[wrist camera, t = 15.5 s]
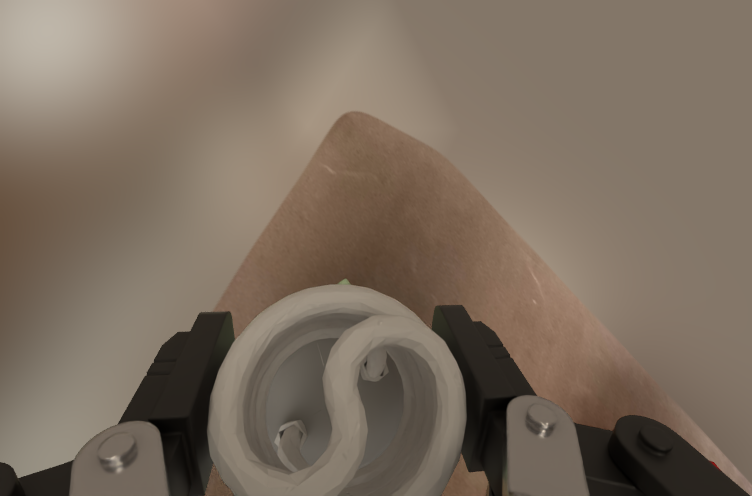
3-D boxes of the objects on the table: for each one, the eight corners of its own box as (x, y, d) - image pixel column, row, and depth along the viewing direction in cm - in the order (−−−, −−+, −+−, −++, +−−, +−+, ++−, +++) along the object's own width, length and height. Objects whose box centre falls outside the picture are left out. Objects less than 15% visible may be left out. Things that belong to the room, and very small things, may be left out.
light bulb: (330, 499, 17) (348, 704, 6) (241, 404, 18) (105, 417, 6) (414, 396, 19) (552, 395, 8) (331, 314, 20) (343, 206, 8)
